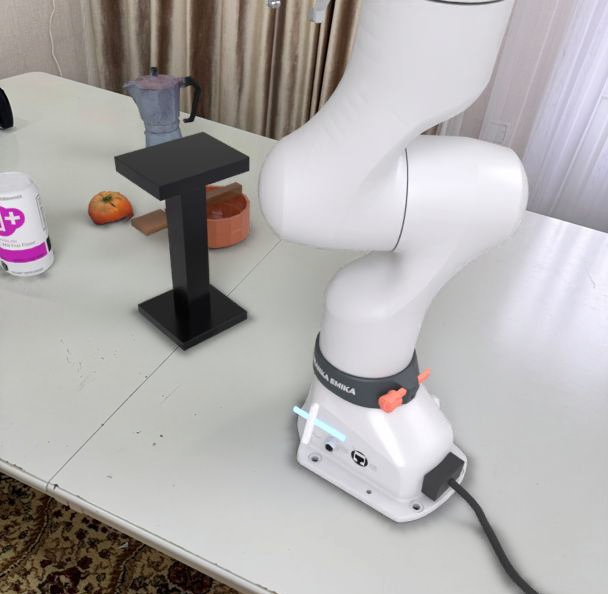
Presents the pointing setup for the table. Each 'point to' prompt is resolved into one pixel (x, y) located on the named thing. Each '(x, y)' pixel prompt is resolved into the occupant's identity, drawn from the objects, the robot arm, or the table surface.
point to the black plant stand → (186, 232)
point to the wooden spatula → (158, 218)
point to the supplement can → (23, 227)
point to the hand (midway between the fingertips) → (293, 14)
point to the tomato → (109, 207)
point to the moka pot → (161, 104)
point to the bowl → (228, 220)
